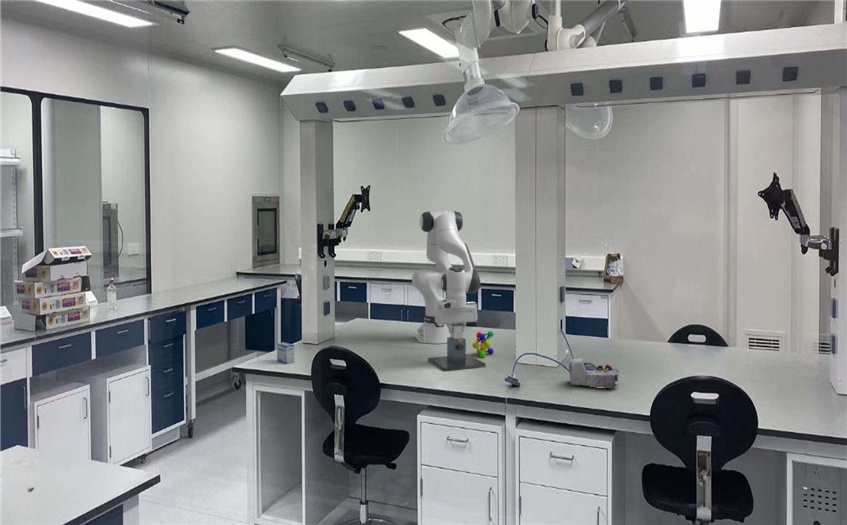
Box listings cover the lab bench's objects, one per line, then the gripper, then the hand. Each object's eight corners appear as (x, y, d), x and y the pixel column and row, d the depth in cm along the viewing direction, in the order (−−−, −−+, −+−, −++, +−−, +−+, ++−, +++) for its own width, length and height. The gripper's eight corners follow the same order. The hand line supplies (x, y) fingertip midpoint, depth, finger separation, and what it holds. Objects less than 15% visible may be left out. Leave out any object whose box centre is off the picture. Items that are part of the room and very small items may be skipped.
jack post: (450, 358, 306) (450, 323, 304) (458, 358, 307) (458, 322, 305) (454, 361, 302) (454, 325, 300) (462, 360, 303) (462, 324, 302)
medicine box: (277, 361, 311) (276, 343, 310) (284, 359, 314) (284, 341, 313) (286, 364, 305) (286, 345, 304) (294, 362, 308) (294, 344, 308)
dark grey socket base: (428, 361, 310) (427, 335, 309) (466, 357, 318) (466, 332, 316) (445, 371, 292) (445, 344, 290) (485, 366, 299) (485, 340, 298)
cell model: (568, 354, 277) (618, 357, 273) (567, 379, 278) (616, 383, 274) (569, 361, 264) (621, 365, 260) (568, 388, 265) (620, 391, 262)
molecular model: (484, 358, 314) (484, 334, 313) (471, 356, 318) (471, 333, 317) (495, 354, 323) (495, 331, 323) (482, 352, 327) (483, 329, 327)
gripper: (473, 300, 309) (473, 329, 310) (433, 303, 301) (433, 332, 302) (480, 302, 303) (479, 332, 304) (438, 305, 295) (438, 335, 297)
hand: (456, 332), depth 303 cm, fingers closed on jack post, 4 cm apart
